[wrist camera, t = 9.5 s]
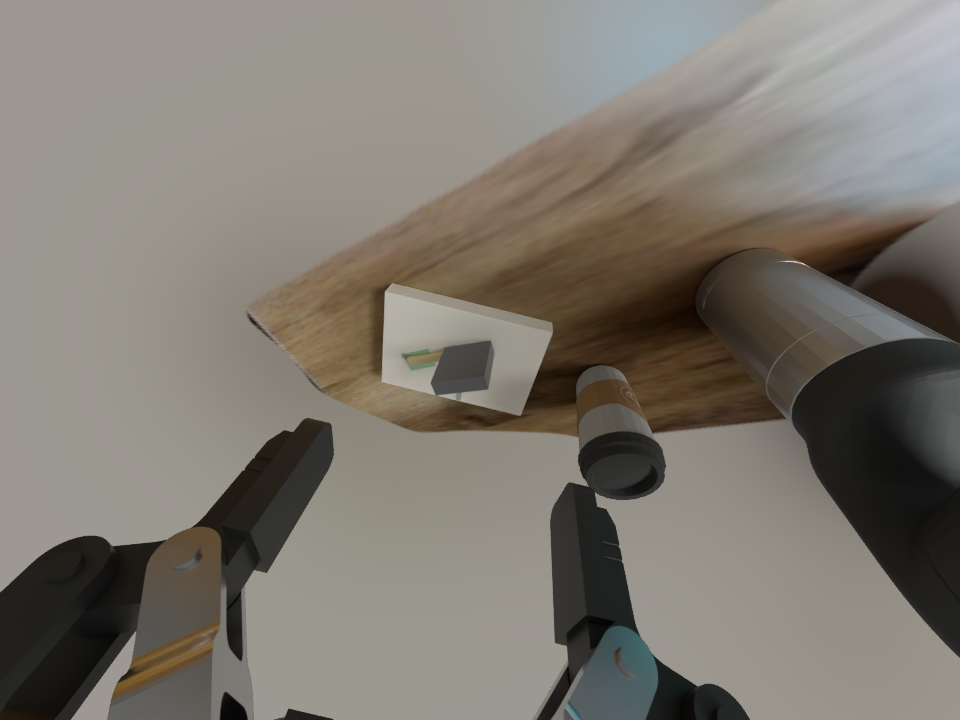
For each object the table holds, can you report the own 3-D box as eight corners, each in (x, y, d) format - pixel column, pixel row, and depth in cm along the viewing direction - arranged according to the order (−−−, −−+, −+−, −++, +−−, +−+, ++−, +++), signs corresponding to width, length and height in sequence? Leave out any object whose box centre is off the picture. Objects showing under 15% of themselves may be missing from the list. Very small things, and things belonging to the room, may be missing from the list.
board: (552, 322, 41) (553, 333, 39) (521, 403, 49) (520, 417, 47) (392, 283, 41) (384, 292, 39) (387, 371, 49) (381, 383, 47)
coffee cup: (646, 385, 45) (688, 484, 32) (592, 414, 49) (611, 511, 36) (609, 345, 42) (639, 436, 30) (555, 379, 46) (563, 472, 34)
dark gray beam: (494, 353, 41) (488, 389, 36) (412, 364, 44) (394, 400, 38) (491, 340, 40) (484, 376, 35) (407, 353, 43) (388, 388, 37)
